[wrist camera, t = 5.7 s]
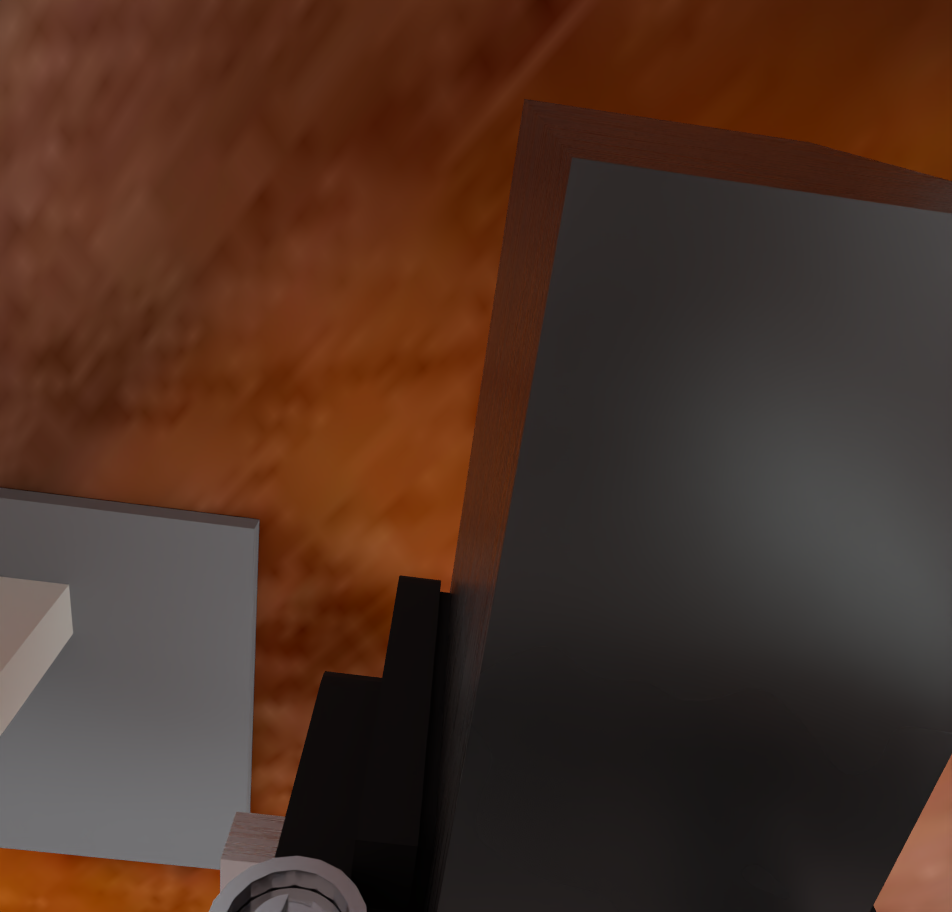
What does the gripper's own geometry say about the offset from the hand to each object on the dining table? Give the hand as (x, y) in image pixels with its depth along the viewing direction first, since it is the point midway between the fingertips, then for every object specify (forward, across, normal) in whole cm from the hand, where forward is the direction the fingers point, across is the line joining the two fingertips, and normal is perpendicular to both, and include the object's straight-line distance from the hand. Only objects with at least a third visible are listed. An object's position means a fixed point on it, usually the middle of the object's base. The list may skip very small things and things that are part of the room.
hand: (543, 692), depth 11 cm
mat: (+15, +16, +15) cm, 27 cm away
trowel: (0, 0, +3) cm, 3 cm away
